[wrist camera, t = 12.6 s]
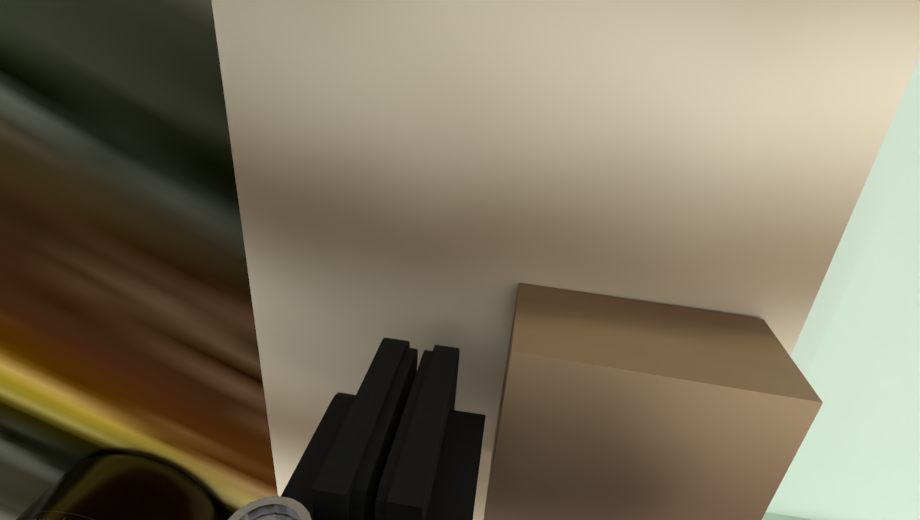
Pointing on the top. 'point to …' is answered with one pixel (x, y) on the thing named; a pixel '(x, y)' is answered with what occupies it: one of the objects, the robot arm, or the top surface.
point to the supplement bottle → (122, 493)
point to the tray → (866, 351)
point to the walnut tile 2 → (642, 412)
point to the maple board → (537, 170)
